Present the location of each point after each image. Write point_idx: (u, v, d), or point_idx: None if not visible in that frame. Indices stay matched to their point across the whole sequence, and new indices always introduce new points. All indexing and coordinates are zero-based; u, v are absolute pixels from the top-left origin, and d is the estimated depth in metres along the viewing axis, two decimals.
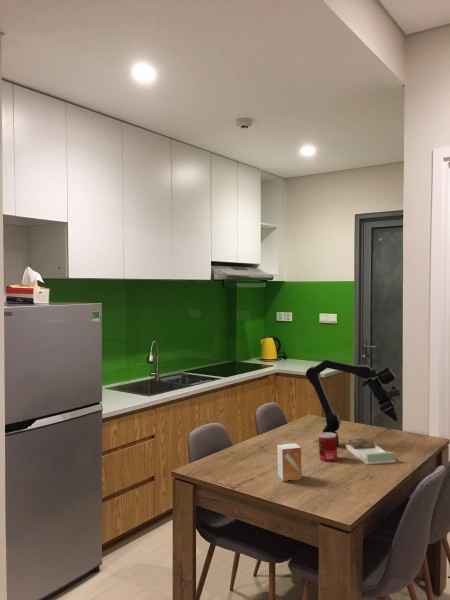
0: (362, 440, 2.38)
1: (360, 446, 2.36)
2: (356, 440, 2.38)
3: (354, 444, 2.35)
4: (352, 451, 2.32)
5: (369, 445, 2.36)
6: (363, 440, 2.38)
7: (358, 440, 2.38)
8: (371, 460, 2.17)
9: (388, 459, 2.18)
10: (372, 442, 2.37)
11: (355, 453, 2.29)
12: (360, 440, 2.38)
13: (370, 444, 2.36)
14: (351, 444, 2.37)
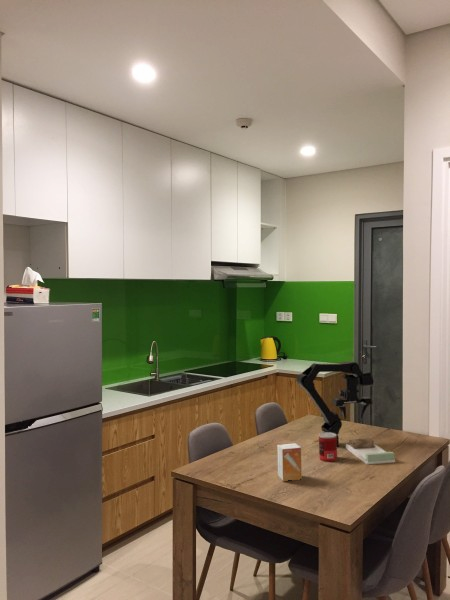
0: (362, 440, 2.38)
1: (360, 446, 2.36)
2: (356, 440, 2.38)
3: (354, 444, 2.35)
4: (352, 451, 2.32)
5: (369, 445, 2.36)
6: (363, 440, 2.38)
7: (358, 440, 2.38)
8: (371, 460, 2.17)
9: (388, 459, 2.18)
10: (372, 442, 2.37)
11: (355, 453, 2.29)
12: (360, 440, 2.38)
13: (370, 444, 2.36)
14: (351, 444, 2.37)
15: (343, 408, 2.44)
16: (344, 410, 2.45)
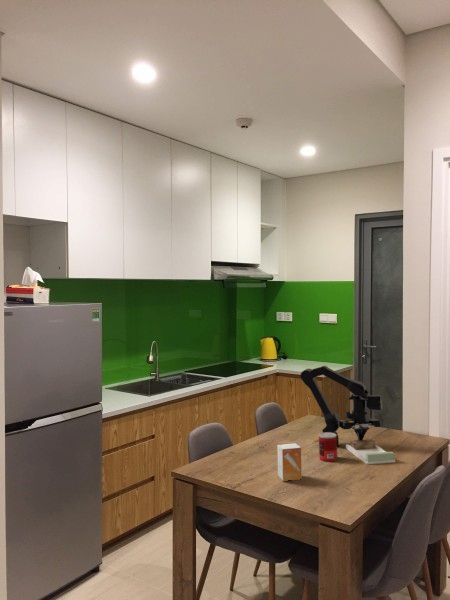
0: (363, 441, 2.36)
1: (361, 447, 2.34)
2: (357, 441, 2.36)
3: (355, 445, 2.34)
4: (352, 451, 2.32)
5: (370, 446, 2.35)
6: (364, 441, 2.36)
7: (359, 441, 2.36)
8: (371, 460, 2.17)
9: (388, 459, 2.18)
10: (373, 443, 2.35)
11: (355, 453, 2.29)
12: (361, 441, 2.37)
13: (372, 445, 2.35)
14: (352, 445, 2.35)
15: (358, 430, 2.36)
16: (359, 433, 2.37)
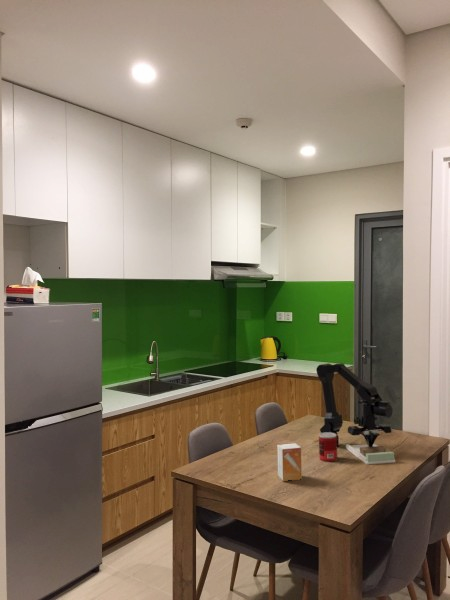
0: (373, 448, 2.26)
1: None
2: (367, 448, 2.26)
3: (365, 451, 2.23)
4: (352, 451, 2.32)
5: None
6: (374, 447, 2.26)
7: (369, 448, 2.26)
8: (371, 460, 2.17)
9: (388, 459, 2.18)
10: (384, 450, 2.25)
11: (355, 453, 2.29)
12: (371, 447, 2.26)
13: None
14: (362, 452, 2.24)
15: (368, 437, 2.26)
16: (369, 439, 2.26)
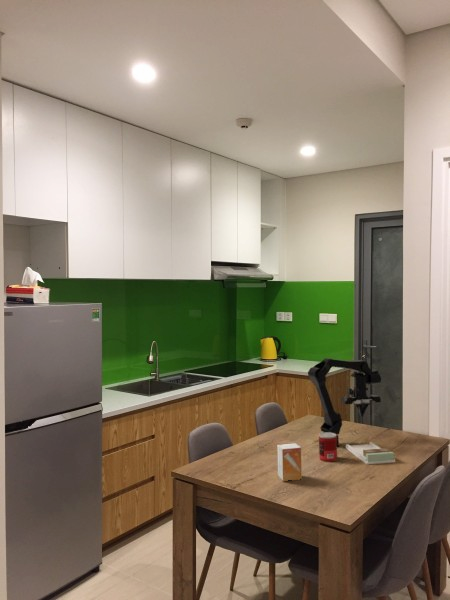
0: (377, 450, 2.22)
1: None
2: (371, 450, 2.22)
3: None
4: (352, 451, 2.32)
5: None
6: (378, 450, 2.22)
7: (373, 450, 2.22)
8: (371, 460, 2.17)
9: (388, 459, 2.18)
10: None
11: (355, 453, 2.29)
12: (374, 450, 2.23)
13: None
14: (365, 454, 2.21)
15: (360, 405, 2.49)
16: (361, 407, 2.49)
